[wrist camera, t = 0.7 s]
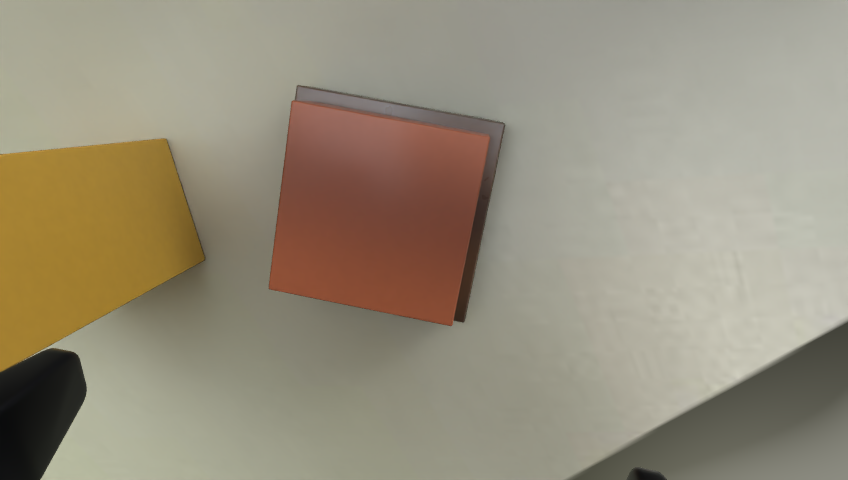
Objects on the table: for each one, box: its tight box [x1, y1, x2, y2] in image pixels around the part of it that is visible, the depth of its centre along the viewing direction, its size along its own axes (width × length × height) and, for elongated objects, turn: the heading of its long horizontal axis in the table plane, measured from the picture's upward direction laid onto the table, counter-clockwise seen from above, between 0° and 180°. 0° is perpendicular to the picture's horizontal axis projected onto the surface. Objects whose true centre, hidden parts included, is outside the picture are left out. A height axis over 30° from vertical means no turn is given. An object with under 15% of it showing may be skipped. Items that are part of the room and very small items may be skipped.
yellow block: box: [0, 138, 205, 372], centre depth 20 cm, size 6×6×13 cm
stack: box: [269, 85, 505, 326], centre depth 23 cm, size 8×8×4 cm
